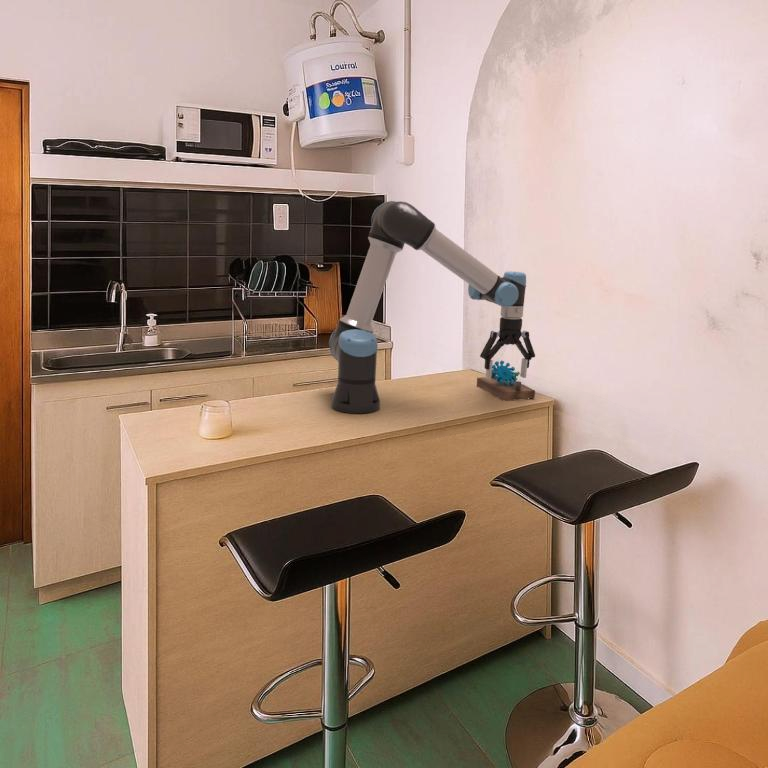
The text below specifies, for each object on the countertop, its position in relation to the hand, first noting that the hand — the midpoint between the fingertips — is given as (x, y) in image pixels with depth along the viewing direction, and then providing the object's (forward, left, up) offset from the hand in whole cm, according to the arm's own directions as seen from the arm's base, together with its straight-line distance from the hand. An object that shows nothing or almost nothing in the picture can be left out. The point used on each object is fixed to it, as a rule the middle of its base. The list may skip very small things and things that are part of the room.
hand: (505, 377), depth 235 cm
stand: (0, 0, -5) cm, 5 cm away
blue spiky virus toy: (0, 0, -2) cm, 2 cm away
